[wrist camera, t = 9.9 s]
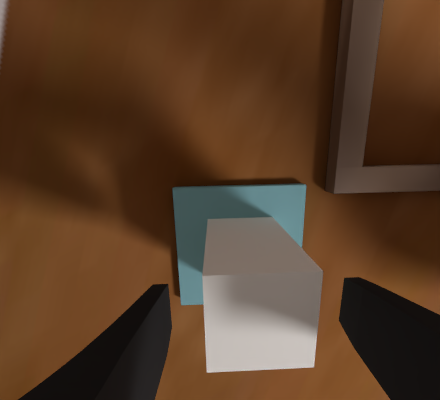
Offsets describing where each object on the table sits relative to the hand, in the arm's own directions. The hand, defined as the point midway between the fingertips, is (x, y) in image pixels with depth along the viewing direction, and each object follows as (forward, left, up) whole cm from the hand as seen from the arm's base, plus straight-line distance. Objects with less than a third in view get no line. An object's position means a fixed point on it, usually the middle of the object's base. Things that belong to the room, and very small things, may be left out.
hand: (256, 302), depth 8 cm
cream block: (0, 0, -5) cm, 5 cm away
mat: (0, 0, -5) cm, 5 cm away
